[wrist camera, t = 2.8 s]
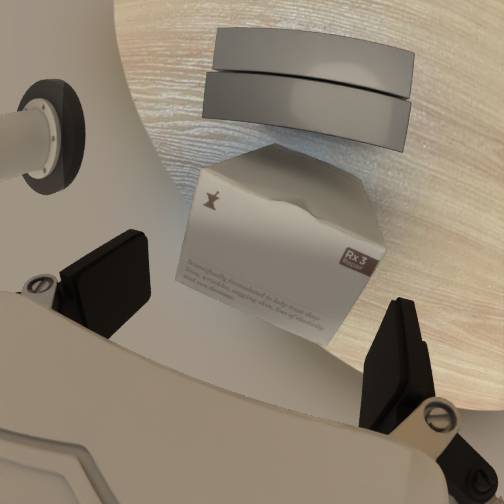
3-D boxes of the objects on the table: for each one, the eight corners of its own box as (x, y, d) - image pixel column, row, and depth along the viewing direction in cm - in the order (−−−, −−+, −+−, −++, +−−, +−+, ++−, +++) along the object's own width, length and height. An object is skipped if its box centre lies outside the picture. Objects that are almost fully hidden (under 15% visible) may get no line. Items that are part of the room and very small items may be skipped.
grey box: (260, 116, 24) (201, 118, 14) (267, 59, 22) (212, 24, 12) (379, 139, 22) (403, 153, 12) (388, 79, 19) (417, 49, 10)
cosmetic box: (253, 200, 27) (163, 282, 14) (276, 138, 24) (189, 163, 11) (339, 239, 26) (322, 357, 13) (368, 178, 23) (391, 252, 11)
